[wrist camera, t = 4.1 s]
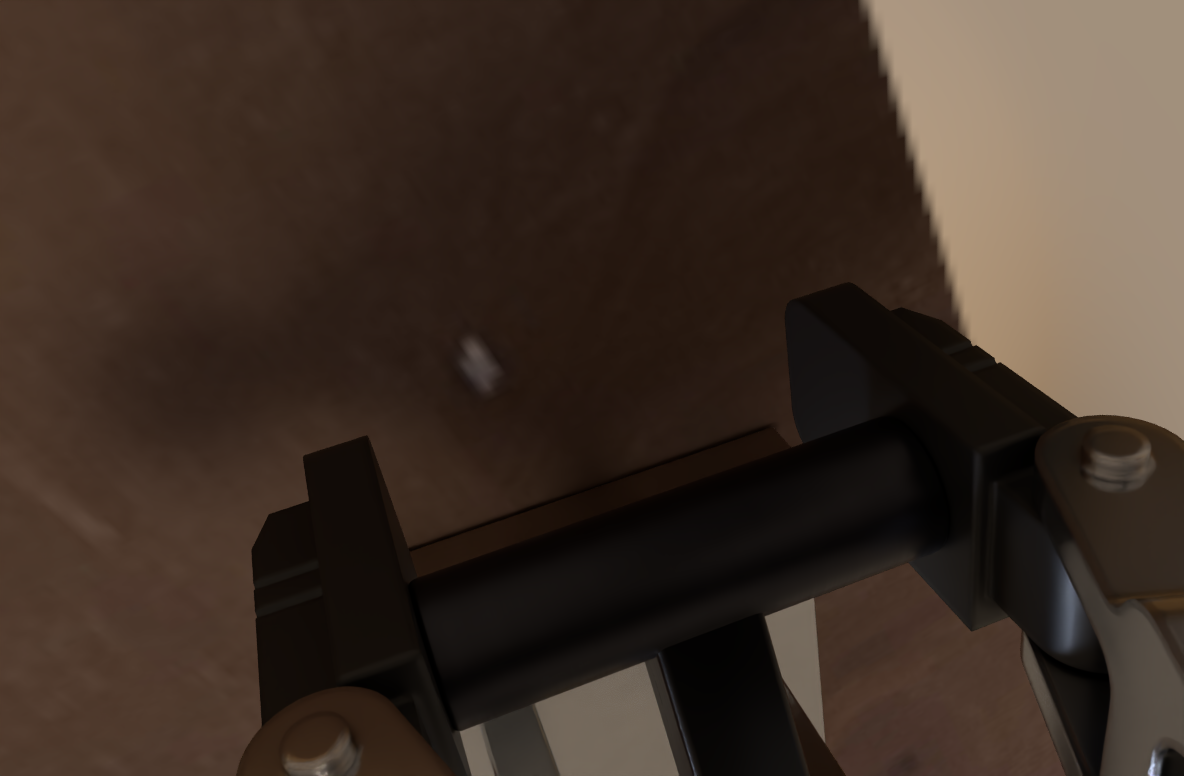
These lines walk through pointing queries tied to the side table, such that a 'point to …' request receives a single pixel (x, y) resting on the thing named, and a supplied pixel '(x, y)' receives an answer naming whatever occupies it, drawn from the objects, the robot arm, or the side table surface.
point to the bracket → (626, 698)
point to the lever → (686, 593)
